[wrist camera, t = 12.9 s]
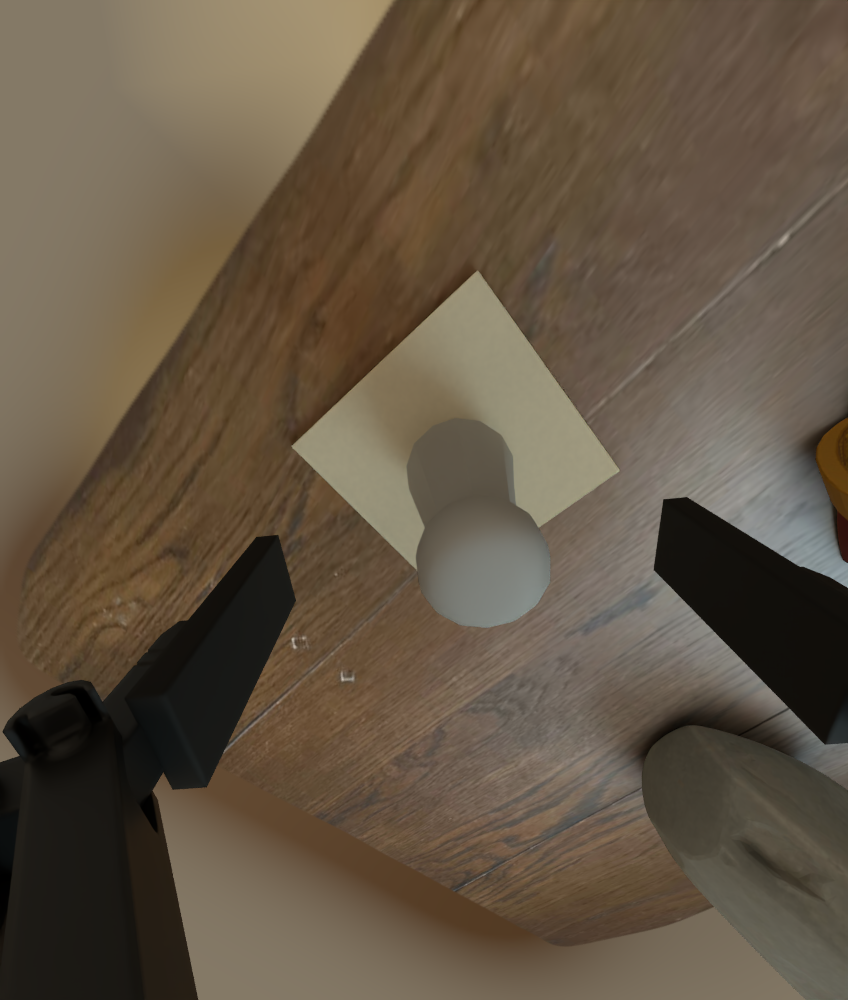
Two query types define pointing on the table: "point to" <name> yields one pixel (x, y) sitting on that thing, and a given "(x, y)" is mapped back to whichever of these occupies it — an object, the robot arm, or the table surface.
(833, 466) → the decorative basket
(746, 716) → the table surface
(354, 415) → the placemat
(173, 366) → the table surface
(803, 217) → the table surface
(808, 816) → the decorative stone
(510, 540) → the salt shaker
